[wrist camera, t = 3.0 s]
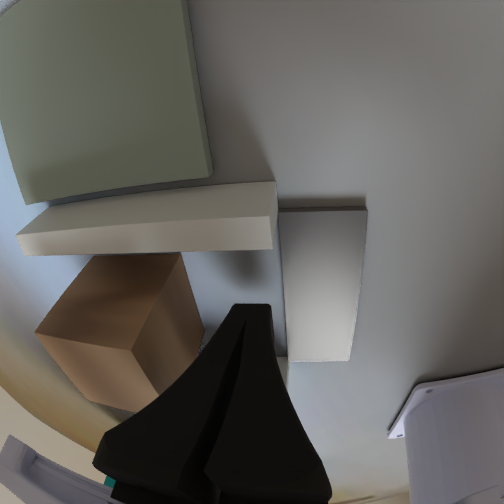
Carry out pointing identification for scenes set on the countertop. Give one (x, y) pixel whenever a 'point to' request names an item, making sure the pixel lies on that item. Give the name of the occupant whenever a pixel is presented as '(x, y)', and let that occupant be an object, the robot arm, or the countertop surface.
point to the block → (125, 328)
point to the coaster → (100, 96)
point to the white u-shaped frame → (231, 248)
